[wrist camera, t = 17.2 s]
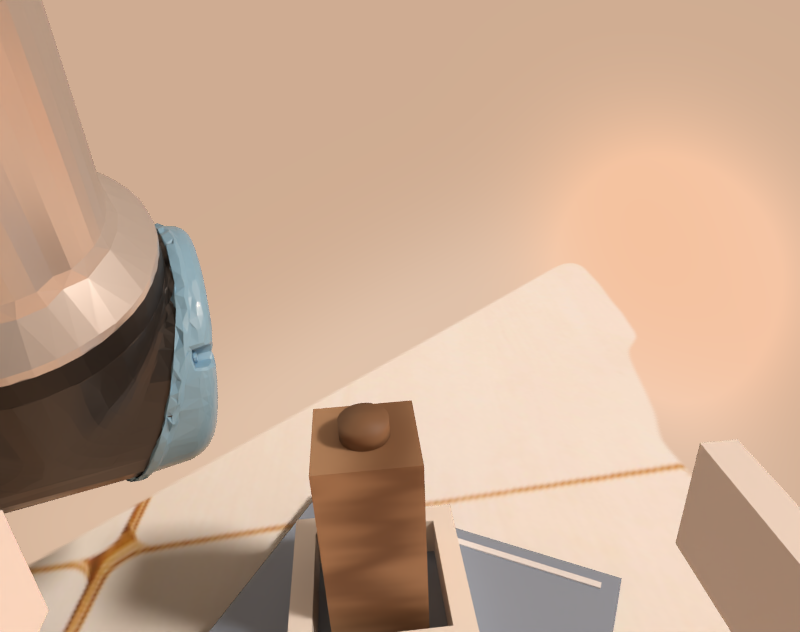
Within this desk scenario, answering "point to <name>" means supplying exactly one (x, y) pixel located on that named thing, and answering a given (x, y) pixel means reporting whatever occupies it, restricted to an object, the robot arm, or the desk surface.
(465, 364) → the desk surface
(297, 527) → the socket collar
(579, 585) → the board
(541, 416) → the desk surface
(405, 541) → the pillar
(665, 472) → the desk surface
